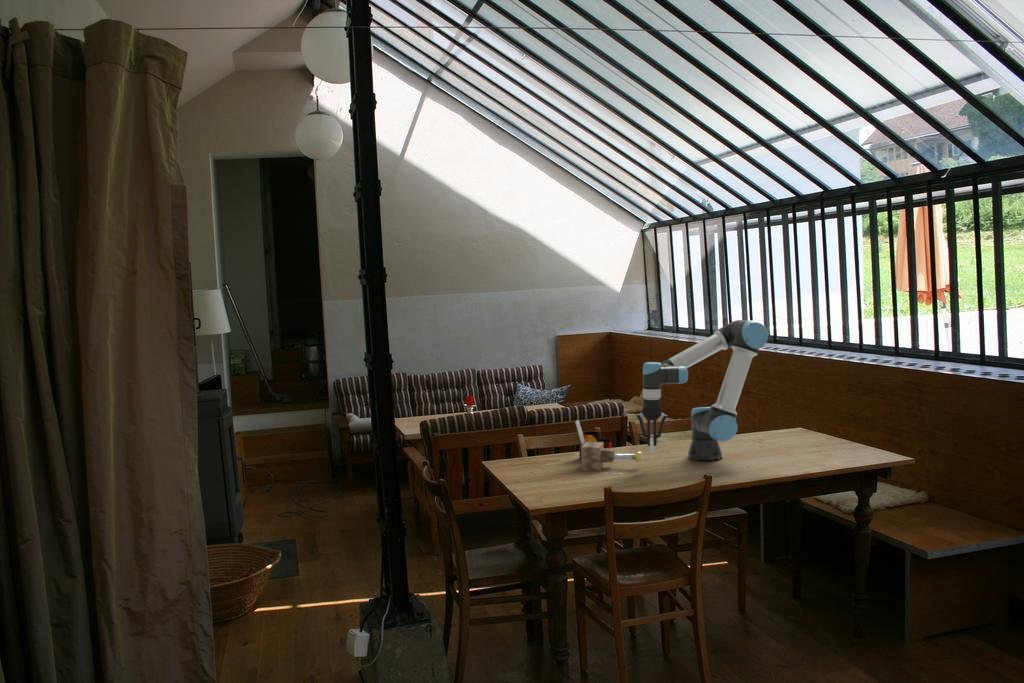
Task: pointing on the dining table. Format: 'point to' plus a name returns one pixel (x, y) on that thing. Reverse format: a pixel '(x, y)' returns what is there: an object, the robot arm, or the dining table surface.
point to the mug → (593, 438)
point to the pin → (629, 457)
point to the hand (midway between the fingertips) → (652, 453)
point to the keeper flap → (580, 431)
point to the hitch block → (595, 455)
